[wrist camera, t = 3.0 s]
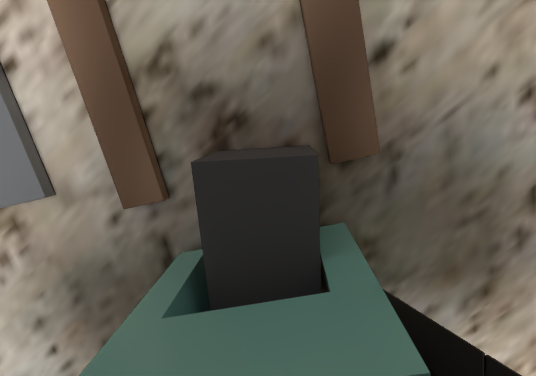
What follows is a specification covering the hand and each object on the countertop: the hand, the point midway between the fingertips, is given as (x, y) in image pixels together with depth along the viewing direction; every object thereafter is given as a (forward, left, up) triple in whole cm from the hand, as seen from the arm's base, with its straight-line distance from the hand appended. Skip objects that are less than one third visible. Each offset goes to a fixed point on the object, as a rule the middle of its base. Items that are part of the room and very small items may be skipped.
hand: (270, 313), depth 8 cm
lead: (0, 0, -2) cm, 2 cm away
